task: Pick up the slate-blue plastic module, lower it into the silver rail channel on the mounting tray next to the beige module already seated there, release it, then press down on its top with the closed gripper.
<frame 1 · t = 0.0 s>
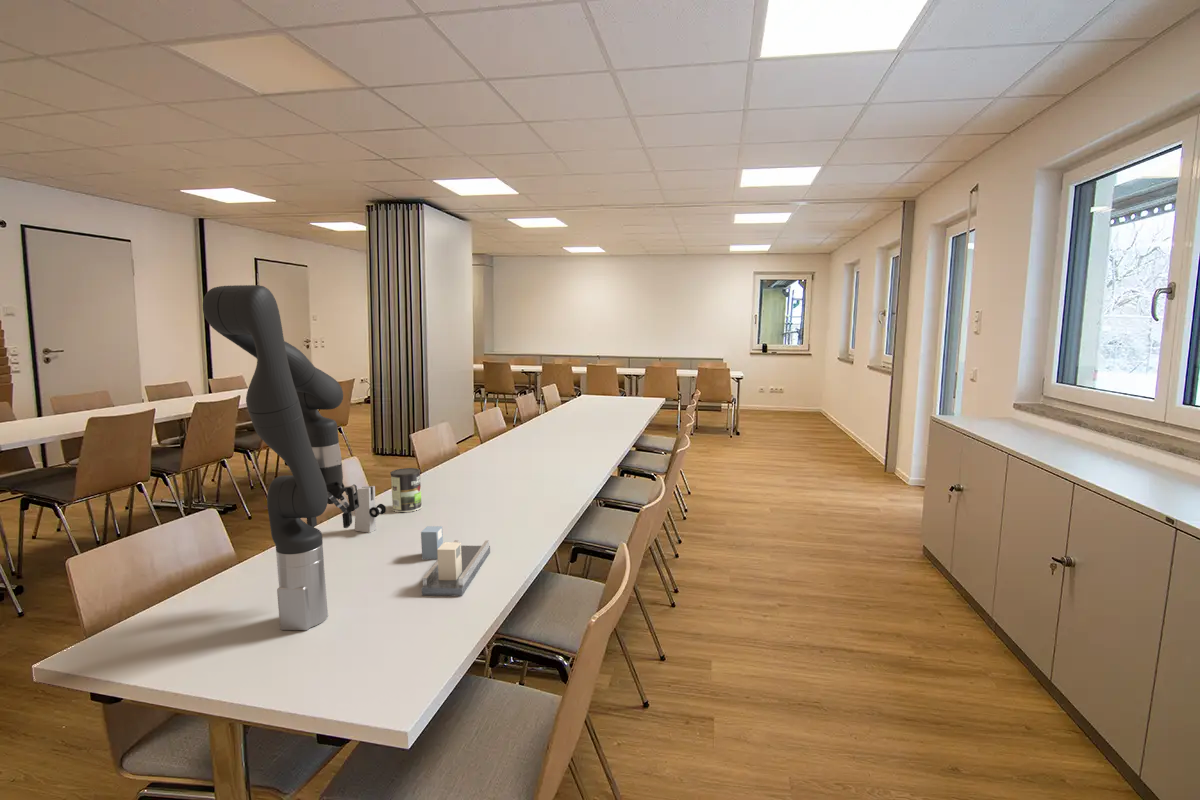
hand: (330, 526, 142), 17 cm above the table, tool pointing down, fingers open, 8 cm apart
module: (433, 555, 167), on the table
grey wheeled device: (369, 531, 189), on the table
coffee can: (407, 509, 212), on the table
mounting tray: (459, 572, 156), on the table
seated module: (450, 575, 148), point 2 cm above the table, touching mounting tray
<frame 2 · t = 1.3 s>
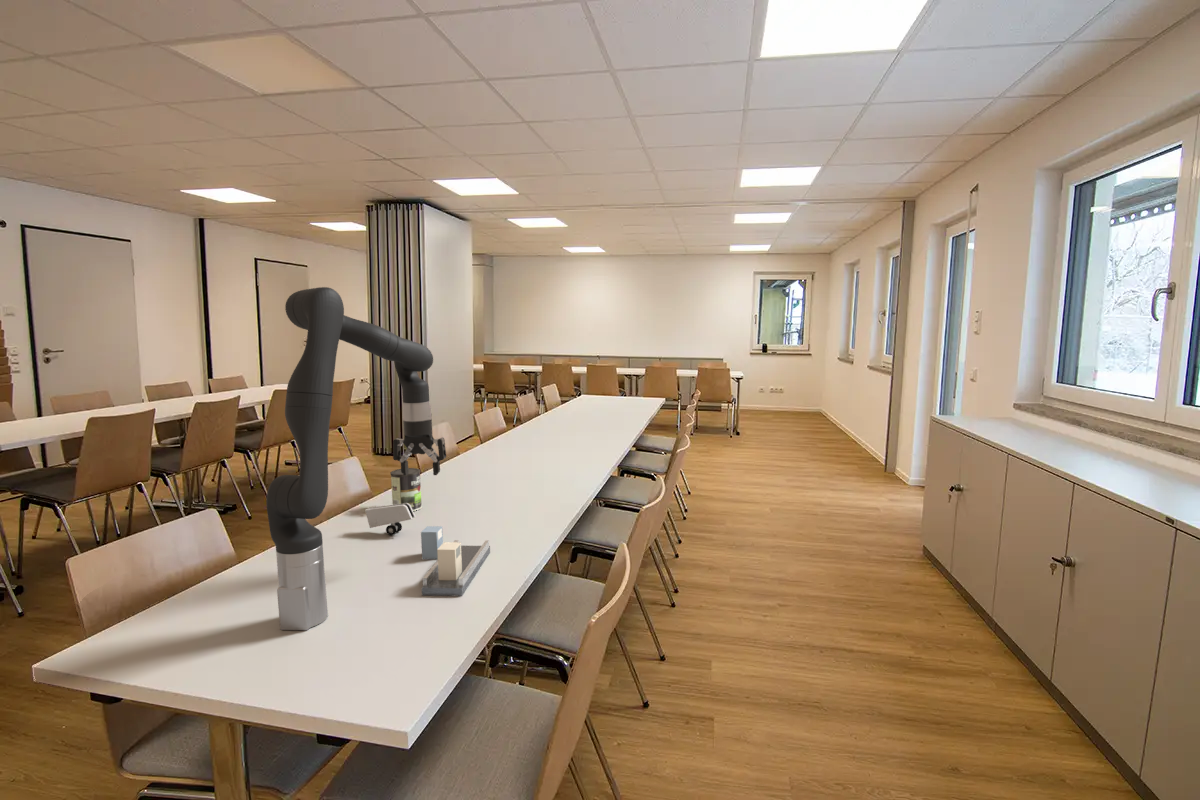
hand: (421, 474, 163), 24 cm above the table, tool pointing down, fingers open, 8 cm apart
grey wheeled device: (370, 523, 187), point 3 cm above the table
everything else where it was.
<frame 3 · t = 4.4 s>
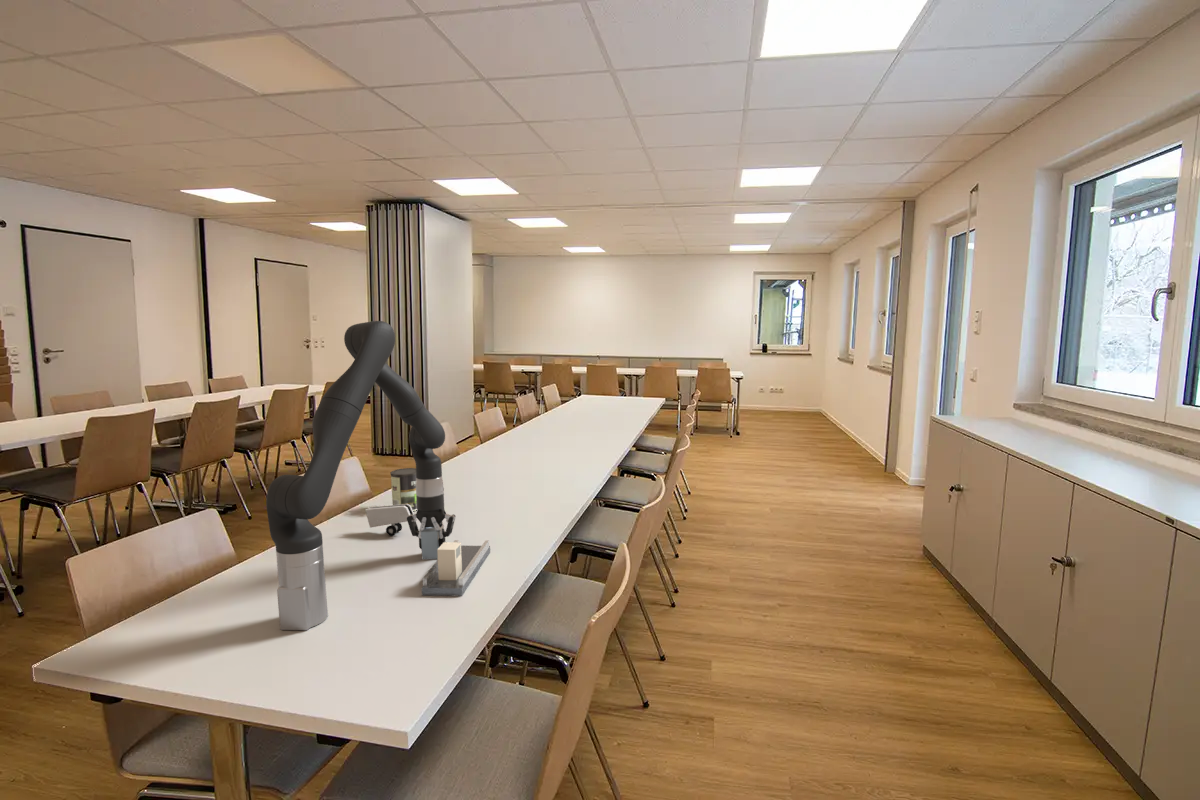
hand: (432, 549, 167), 2 cm above the table, tool pointing down, fingers closed on module, 4 cm apart
module: (433, 555, 167), on the table, touching gripper
everything else where it was.
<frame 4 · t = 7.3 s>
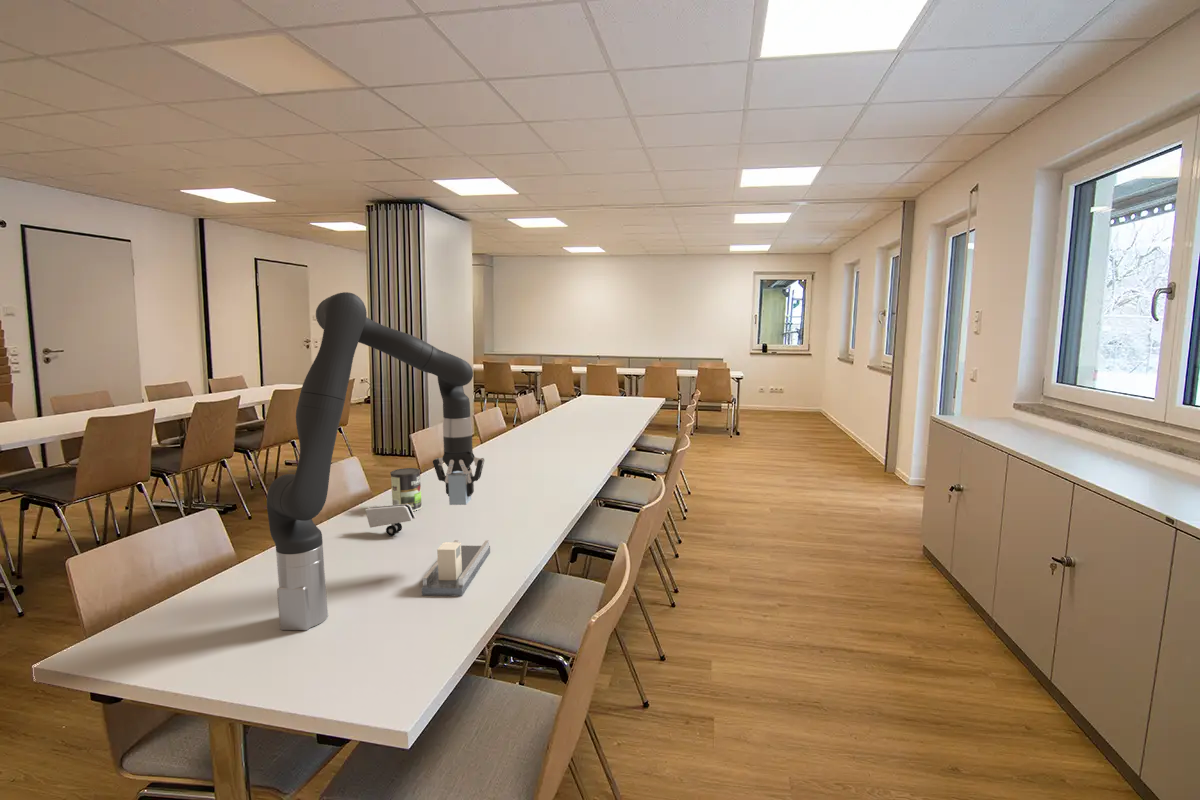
hand: (460, 495, 157), 20 cm above the table, tool pointing down, fingers closed on module, 4 cm apart
module: (460, 502, 157), point 18 cm above the table, touching gripper
everything else where it was.
when the fingers open (6 cm above the table, at t = 10.2 s): module drops 2 cm, resting on mounting tray.
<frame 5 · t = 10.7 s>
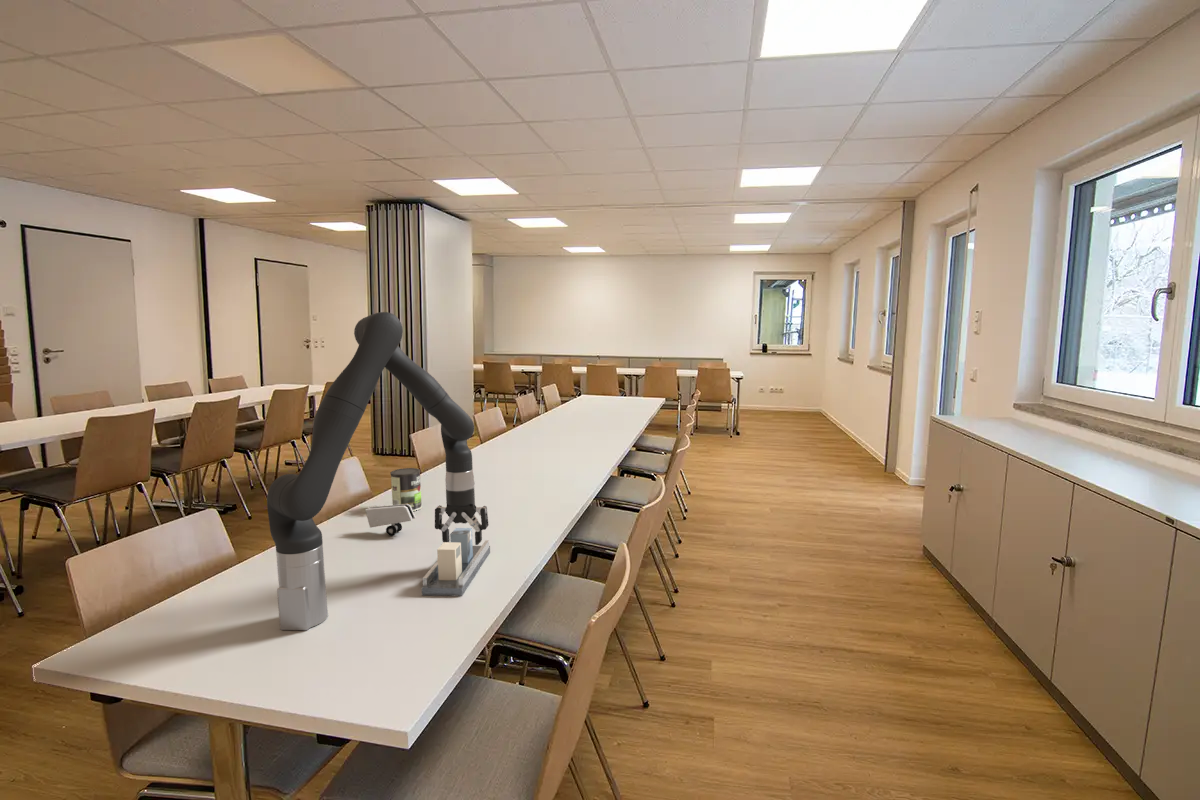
hand: (462, 543, 159), 6 cm above the table, tool pointing down, fingers open, 8 cm apart
module: (462, 559, 159), point 2 cm above the table, touching mounting tray
everything else where it was.
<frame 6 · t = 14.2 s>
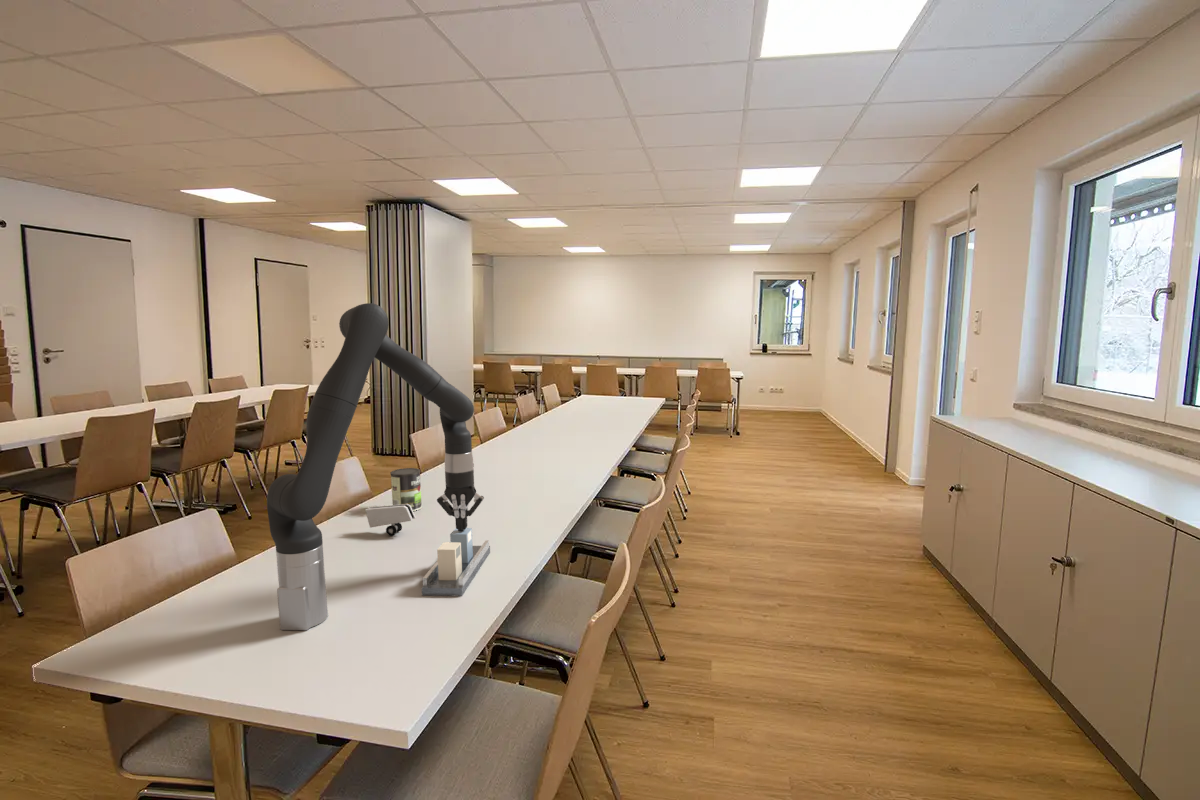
hand: (461, 530, 158), 10 cm above the table, tool pointing down, fingers closed
nothing on the table moved.
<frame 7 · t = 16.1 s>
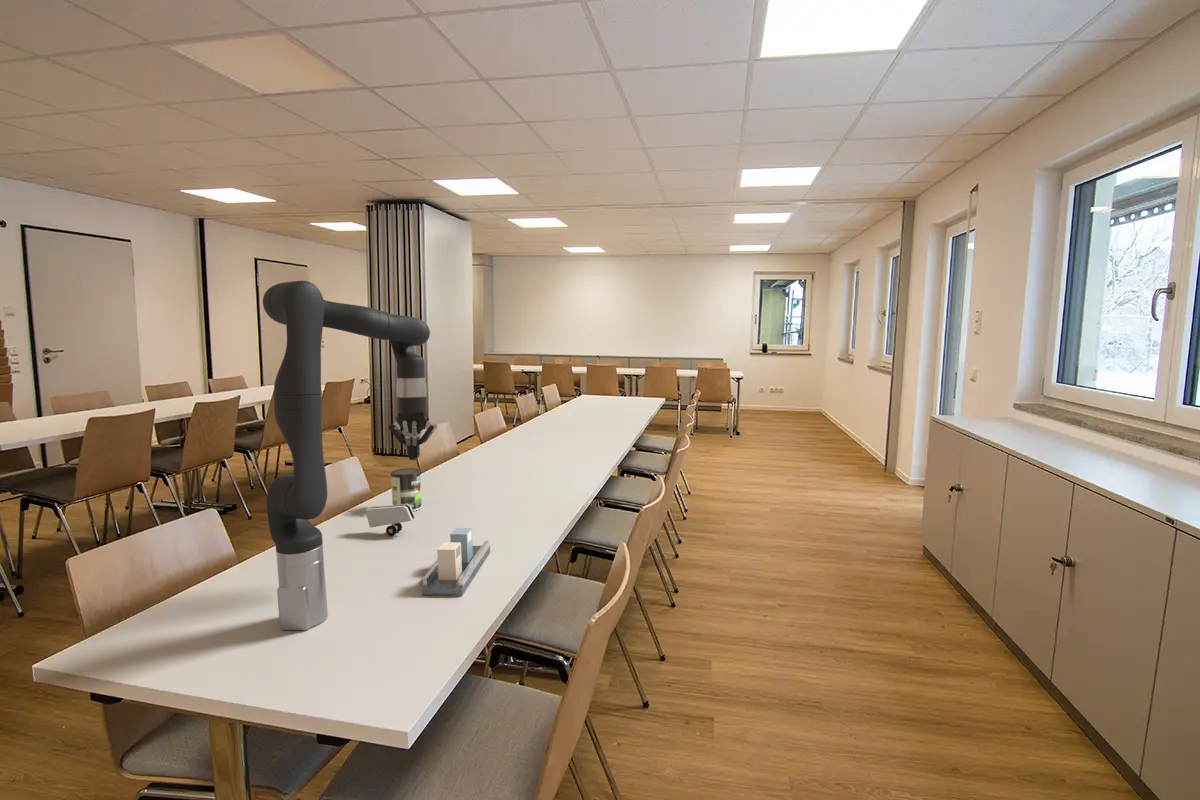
hand: (413, 459, 155), 30 cm above the table, tool pointing down, fingers closed
nothing on the table moved.
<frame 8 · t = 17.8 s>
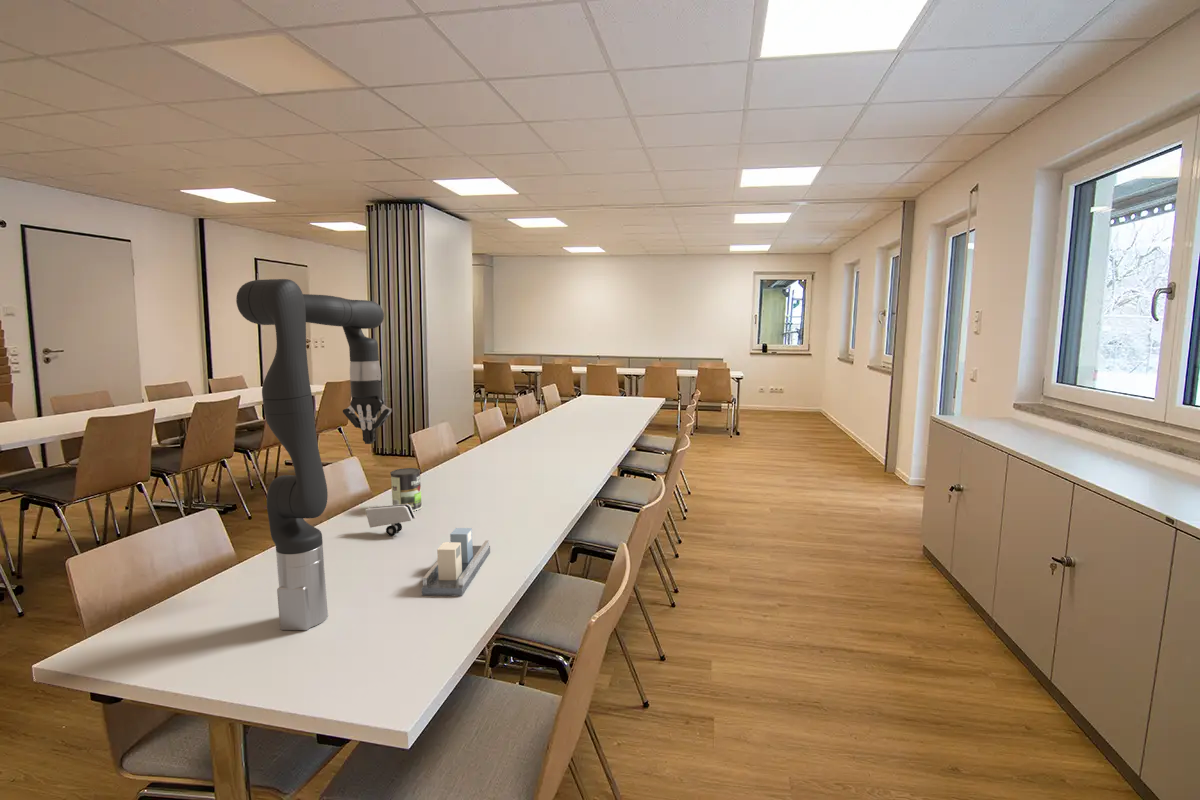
hand: (369, 443, 154), 35 cm above the table, tool pointing down, fingers closed
nothing on the table moved.
at the end: module inside the target area (0.5 cm from its centre), point 2.0 cm above the table; module tilted 0°; the gripper is holding nothing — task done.
